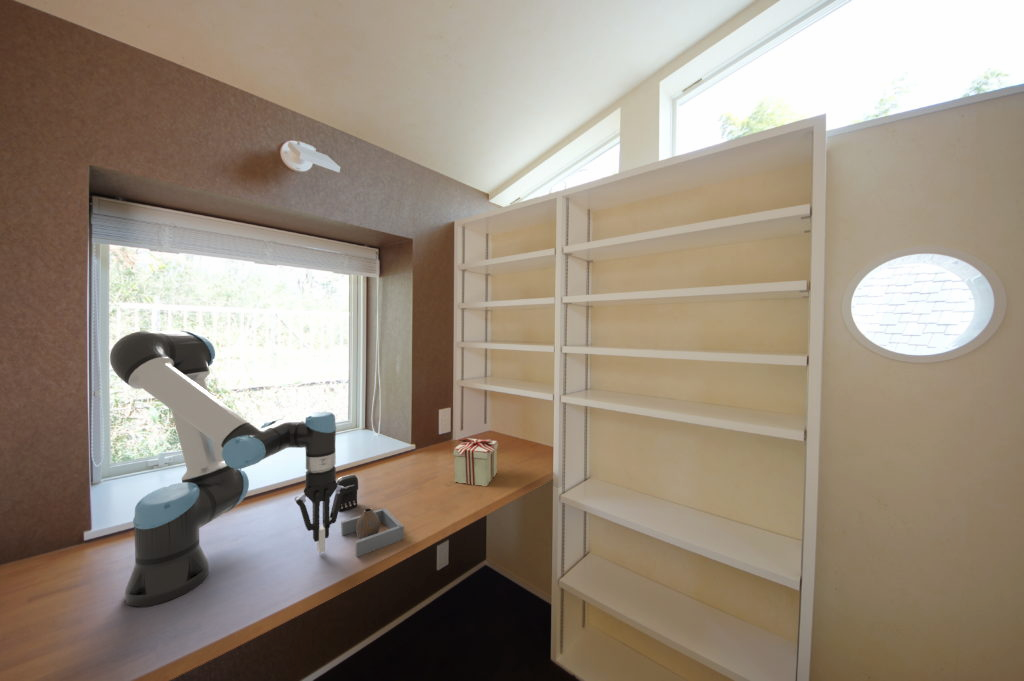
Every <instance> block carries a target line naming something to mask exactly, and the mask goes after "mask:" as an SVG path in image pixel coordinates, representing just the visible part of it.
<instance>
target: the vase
mask: <svg viewBox="0 0 1024 681" xmlns="http://www.w3.org/2000/svg"><path fill="white" fill-rule="evenodd" d="M373 511H374V510H373V508H371V507H367V508H365V509H364V510H363V512H362V514H360V515H361V516H360V515H359V516H360V518H359V519H358V521H357V524H356V531H355V533H356V536H357V538H358V540H360V539H363V538H366V537H368V536H371V535H374V534H377V533H380V529H381V523H380V520H379V517H378V516H377V515H376V514H375V513H374V512H373Z"/></svg>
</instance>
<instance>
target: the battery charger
mask: <svg viewBox="0 0 1024 681" xmlns="http://www.w3.org/2000/svg"><path fill="white" fill-rule="evenodd" d="M336 482H337V484H338V485H339V486H341V485H342V486H343V487H344V488H345V489H346V491H345V492H344V494H343V496H342V499H341V503H340V507H339V511H338V512H343V511H346V510H350V509H353V508H356V507H357V506H358V490H359V478H358V477H357V475H356V474H347V475H344V476H340V477H338V478H337V479H336Z"/></svg>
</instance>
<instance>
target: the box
mask: <svg viewBox="0 0 1024 681" xmlns="http://www.w3.org/2000/svg"><path fill="white" fill-rule="evenodd" d="M373 512H374V513H375V514H376V515H377V516H378V517H379V520H380V524H381V523H383V525H385V526H386V528H387V529H386V530H383V531H381V532H380V531H379V533H377V534H374V535H371V536H368V537H366V538H363V539H358V540H355V556H356V558H358V557H360V556H363V555H367V554H368V553H372V552H373V551H376V550H379V549H381V548H384V547H387V546H389V545H391V544H395V543H398V542H400V541H402V540H404V535H405V533H404V528H405V527H404V525H403V524H402V523H401V522H400V521H399V520H398V519H397V518H396V517H395V516H394V515H393V514H392V513H391V512H390V511H389V510H388V509H387V508H386V507H383V508H380V509H377V510H373ZM361 515H362V514H360V515H358V516H354V517H351V518H348V519H345V520H342V521H341V522H340V525H341V527H340V528H341V529H340V532H341V533H340V534H341V536H345V535H348V534H352V533H354V532H355V533H356V524H357V521H358V519H359V518H360V516H361Z"/></svg>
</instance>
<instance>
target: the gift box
mask: <svg viewBox="0 0 1024 681" xmlns="http://www.w3.org/2000/svg"><path fill="white" fill-rule="evenodd" d="M458 441H459V442H461V443H459V444H458V445H457V446H455V447H454V449H453V456H454V483H455V482H458V483H457V484H460V483H466V484H465V485H467V484H472V485H471V486H476V485H482V486H481V487H484V486H488V485H489V484H490V483H491V481H492V480H494V478H493V477H496V475H497V474H498V470H497V469H498V468H497V467H498V452H497V451H498V446H499V445H498V444H499V443H498V440H493V439H490V438H487V439H482V438H481V439H480V438H479V439H478V438H469V437H468V438H461V439H459V440H458ZM496 473H497V474H496ZM489 482H490V483H489Z"/></svg>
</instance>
